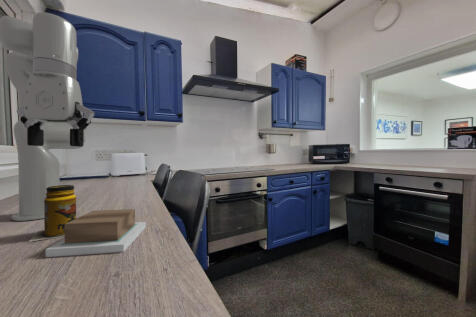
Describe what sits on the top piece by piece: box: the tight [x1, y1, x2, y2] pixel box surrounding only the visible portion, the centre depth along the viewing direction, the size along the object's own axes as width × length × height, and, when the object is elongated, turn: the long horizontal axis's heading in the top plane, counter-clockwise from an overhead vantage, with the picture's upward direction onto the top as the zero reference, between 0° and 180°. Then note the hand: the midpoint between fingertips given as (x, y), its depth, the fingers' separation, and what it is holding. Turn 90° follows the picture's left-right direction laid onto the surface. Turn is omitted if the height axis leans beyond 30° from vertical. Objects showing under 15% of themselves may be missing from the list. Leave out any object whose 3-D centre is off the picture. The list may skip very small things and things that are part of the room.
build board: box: [45, 221, 147, 258], centre depth 46 cm, size 14×14×2 cm
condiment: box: [28, 184, 77, 243], centre depth 50 cm, size 7×8×12 cm
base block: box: [64, 208, 136, 244], centre depth 46 cm, size 10×10×4 cm
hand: (56, 146), depth 46 cm, fingers open, 9 cm apart
